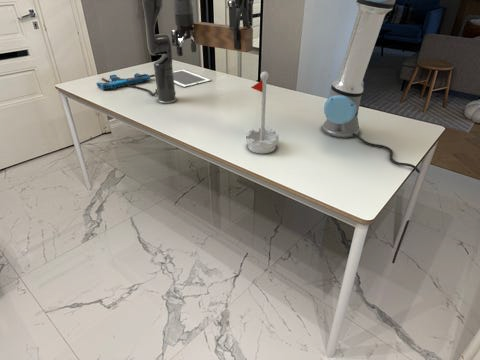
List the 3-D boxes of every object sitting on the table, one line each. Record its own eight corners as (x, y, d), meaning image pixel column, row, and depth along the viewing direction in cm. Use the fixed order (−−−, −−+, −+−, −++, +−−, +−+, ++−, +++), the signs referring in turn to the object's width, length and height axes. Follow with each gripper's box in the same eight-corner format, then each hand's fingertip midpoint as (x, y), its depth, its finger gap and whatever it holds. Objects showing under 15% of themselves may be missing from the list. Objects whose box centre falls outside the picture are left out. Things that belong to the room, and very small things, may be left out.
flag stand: (269, 137, 144) (273, 65, 127) (283, 151, 134) (289, 74, 117) (240, 142, 140) (240, 68, 123) (253, 157, 130) (255, 78, 113)
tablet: (157, 75, 221) (157, 74, 221) (183, 69, 232) (183, 69, 232) (184, 87, 201) (183, 86, 200) (211, 80, 212) (211, 79, 211)
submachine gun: (140, 68, 226) (159, 74, 209) (142, 73, 228) (160, 80, 211) (89, 77, 207) (104, 85, 190) (90, 84, 209) (106, 92, 192)
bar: (252, 50, 135) (252, 28, 130) (246, 52, 132) (246, 29, 127) (201, 42, 148) (200, 21, 144) (194, 44, 145) (193, 23, 141)
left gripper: (188, 9, 143) (191, 49, 152) (164, 13, 133) (169, 56, 142) (202, 10, 139) (204, 52, 148) (178, 14, 130) (182, 58, 139)
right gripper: (246, -22, 130) (246, 43, 142) (217, -20, 118) (220, 50, 131) (262, -22, 126) (261, 45, 139) (234, -19, 114) (235, 53, 127)
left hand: (187, 53), depth 145 cm, fingers open, 8 cm apart
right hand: (241, 47), depth 135 cm, fingers closed on bar, 4 cm apart
